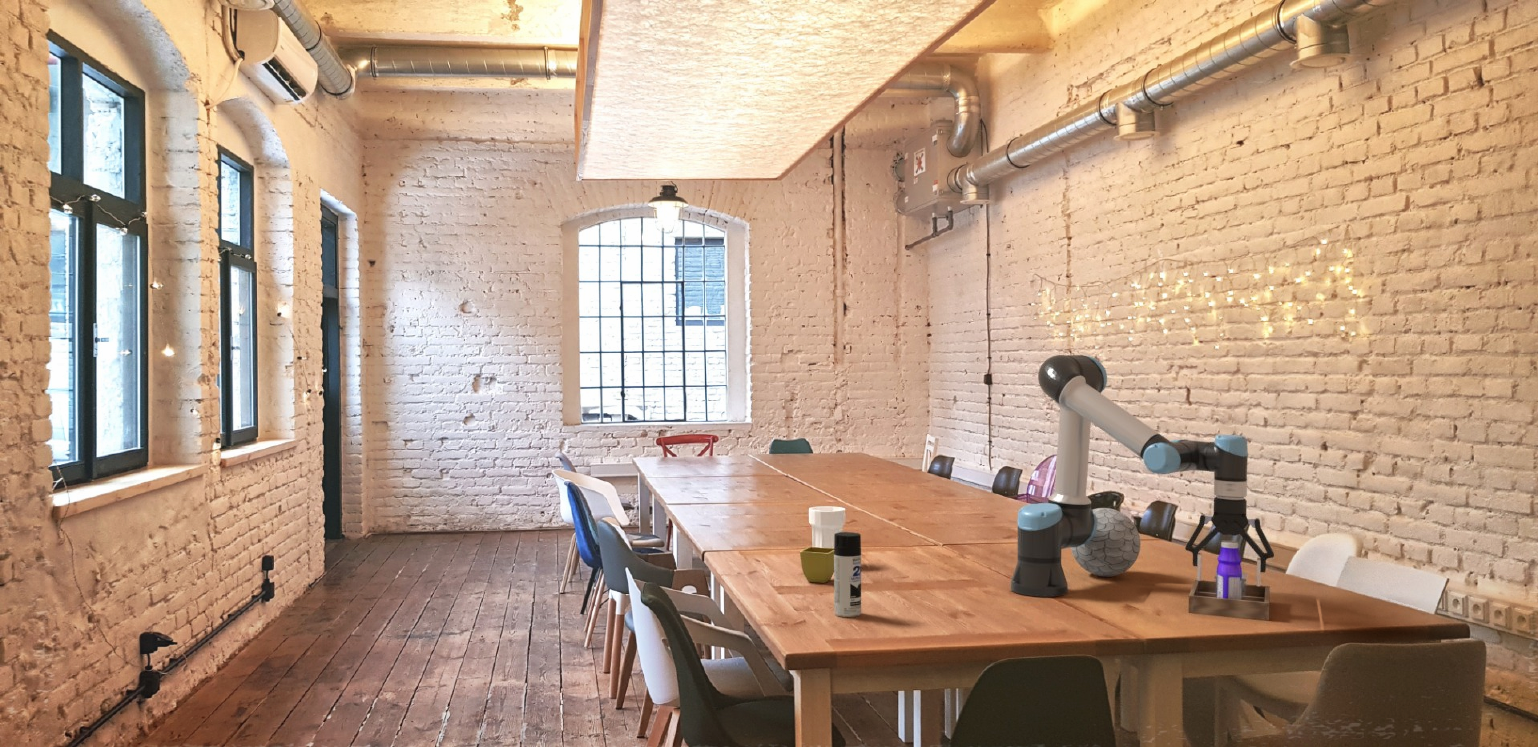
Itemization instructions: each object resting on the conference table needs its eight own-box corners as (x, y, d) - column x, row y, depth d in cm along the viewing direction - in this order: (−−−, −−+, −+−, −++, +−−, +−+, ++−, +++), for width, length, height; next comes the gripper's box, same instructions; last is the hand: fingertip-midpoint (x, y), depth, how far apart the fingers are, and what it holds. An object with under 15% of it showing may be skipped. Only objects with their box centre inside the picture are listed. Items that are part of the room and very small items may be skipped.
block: (1214, 605, 272) (1214, 576, 272) (1216, 598, 280) (1216, 570, 280) (1246, 608, 269) (1246, 578, 269) (1246, 601, 277) (1247, 572, 277)
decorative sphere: (1114, 585, 299) (1115, 514, 299) (1055, 574, 314) (1056, 507, 314) (1153, 577, 311) (1154, 509, 311) (1095, 566, 327) (1095, 501, 327)
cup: (846, 568, 321) (846, 511, 321) (808, 568, 322) (809, 511, 321) (844, 561, 333) (844, 506, 333) (808, 561, 333) (808, 506, 333)
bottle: (1243, 615, 261) (1245, 544, 261) (1219, 613, 262) (1220, 543, 262) (1238, 608, 268) (1239, 539, 268) (1213, 607, 270) (1215, 538, 269)
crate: (1188, 615, 264) (1188, 595, 264) (1194, 598, 284) (1195, 579, 284) (1268, 623, 256) (1269, 603, 256) (1269, 605, 276) (1269, 586, 276)
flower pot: (798, 582, 301) (799, 550, 301) (809, 577, 309) (809, 546, 309) (828, 585, 298) (828, 553, 298) (838, 579, 306) (838, 548, 306)
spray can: (853, 618, 259) (853, 536, 258) (828, 615, 262) (829, 534, 262) (865, 613, 264) (866, 533, 264) (841, 610, 268) (842, 530, 268)
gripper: (1175, 495, 267) (1173, 579, 267) (1286, 502, 256) (1284, 590, 257) (1177, 492, 274) (1176, 574, 274) (1285, 499, 263) (1283, 584, 263)
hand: (1228, 582), depth 265 cm, fingers open, 13 cm apart
